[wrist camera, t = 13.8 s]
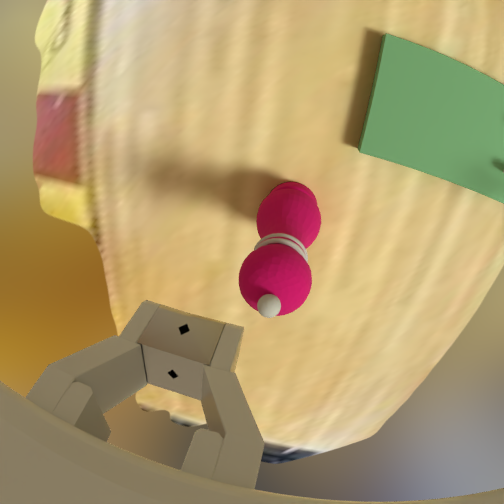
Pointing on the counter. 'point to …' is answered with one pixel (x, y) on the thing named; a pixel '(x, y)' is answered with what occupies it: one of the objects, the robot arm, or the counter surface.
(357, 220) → the counter surface
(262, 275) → the pepper mill
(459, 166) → the green
